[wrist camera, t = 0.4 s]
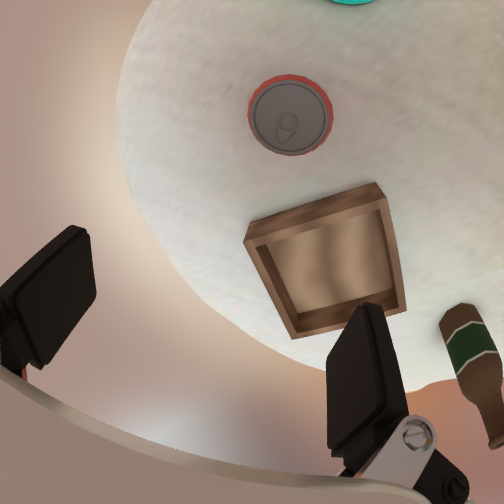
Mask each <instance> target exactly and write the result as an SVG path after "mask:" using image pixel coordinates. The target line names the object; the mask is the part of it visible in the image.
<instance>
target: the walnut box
mask: <svg viewBox="0 0 504 504" xmlns="http://www.w3.org/2000/svg"><path fill="white" fill-rule="evenodd" d="M243 244H244V246H245V248H246V250H247V252H248V254H249V256H250V258H251V260H252V262H253V264H254V266H255V267H256V269H257V271H258V273H259V275H260V277H261V279H262V281H263V283H264V285H265V287H266V289H267V291H268V293H269V295H270V297H271V299H272V301H273V303H274V305H275V307H276V309H277V311H278V313H279V315H280V317H281V319H282V321H283V323H284V325H285V327H286V329H287V331H288V333H289V335H290V337H291V339H292V340H293V339H298V338H303V337H308V336H312V335H317V334H321V333H326V332H330V331H334V330H338V329H342V328H345V326H346V325H347V323H348V321H349V319H350V318H351V316H352V314H353V312H354V310H355V309H356V307H357V306H358V305H362V304H363V303H364V302H371V303H375V304H379V305H381V306H382V308H383V311H384V314H385V317H388V316H391V315H394V314H398V313H401V312H405V311H407V309H406V300H405V292H404V285H403V278H402V272H401V266H400V260H399V254H398V249H397V243H396V238H395V233H394V228H393V224H392V219H391V215H390V210H389V206H388V202H387V198H386V196H385V195H384V193H383V192H382V190H381V189H380V188H379V186H378V185H377V183H376V182H375V183H372V184H368V185H365V186H362V187H359V188H355V189H352V190H349V191H346V192H343V193H339V194H336V195H333V196H330V197H327V198H324V199H321V200H317V201H314V202H311V203H308V204H305V205H302V206H299V207H296V208H293V209H290V210H287V211H284V212H281V213H278V214H275V215H272V216H269V217H266V218H263V219H260V220H257V221H254V222H251V223H250V225H249V227H248V230H247V233H246V235H245V238H244V241H243Z"/></svg>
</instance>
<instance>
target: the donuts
mask: <svg viewBox="0 0 504 504" xmlns="http://www.w3.org/2000/svg"><path fill="white" fill-rule="evenodd" d="M332 1H335V2H339V3H344V4H361V3H367V2H370V1H373V0H332Z"/></svg>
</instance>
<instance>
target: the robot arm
mask: <svg viewBox="0 0 504 504" xmlns="http://www.w3.org/2000/svg"><path fill="white" fill-rule="evenodd" d="M95 298H96V285H95V278H94V270H93V262H92V253H91V243H90V236H89V234H88V233H87V231H86V229H85V228H81V227H78V226H75V225H71V226H69V227H67V228H66V229H65V230H64V231H62V232H61V233H60V234H59V235H57V236H56V237H55V238H54V239H53V240H51V241H50V242H49V243H48V244H47V245H45V246H44V247H43V248H42V249H41V250H40V251H39V252H37V253H36V254H35V255H34V256H33V257H32V258H31V259H29V260H28V261H27V262H26V263H25V264H24V265H23V266H22V267H21V268H20V269H19V270H17V271H16V272H15V274H13V275H12V276H11V277H10V278H9V279H8V280H7V281H6V282H5V283H4V284H3V285H2V286H1V287H0V504H475V503H474V501H473V499H472V498H470V499H468V495H469V489H470V488H469V482H468V480H467V477H466V476H465V475H464V474H463V473H462V472H461V471H460V470H459V469H458V468H457V467H456V466H454V465H453V464H452V463H451V462H450V461H449V460H448V459H446V458H445V457H444V456H443V455H442V454H441V453H440V452H439V451H438V450H436V449H435V446H436V443H437V436H436V432H435V429H434V427H433V425H432V424H431V423H430V422H429V421H428V420H427V419H426V418H424V417H422V416H419V415H409V411H408V406H407V401H406V396H405V391H404V387H403V382H402V378H401V373H400V369H399V365H398V361H397V357H396V353H395V350H394V347H393V343H392V339H391V336H390V332H389V328H388V325H387V321H386V318H385V314H384V311H383V308H382V306H381V305H379V304H375V303H371V302H364V303H363V304H362V305H358V306H357V307H356V309H355V310H354V312H353V314H352V316H351V318H350V319H349V321H348V323H347V325H346V326H345V328H344V330H343V331H342V333H341V335H340V337H339V338H338V340H337V342H336V343H335V345H334V346H333V348H332V350H331V351H330V353H329V355H328V357H327V360H326V383H327V446H328V448H329V449H331V451H332V452H331V453H332V454H331V456H332V457H342V458H343V459H344V467H343V468H342V469H341V470H340V471H339V472H338V473H337V474H336V475H335V476H318V475H306V474H297V473H289V472H281V471H272V470H266V469H260V468H254V467H248V466H242V465H237V464H232V463H227V462H223V461H218V460H214V459H210V458H206V457H202V456H198V455H194V454H191V453H187V452H184V451H180V450H177V449H174V448H170V447H167V446H164V445H161V444H158V443H155V442H152V441H149V440H146V439H144V438H141V437H138V436H135V435H133V434H130V433H128V432H125V431H123V430H120V429H118V428H115V427H113V426H111V425H108V424H106V423H104V422H101V421H99V420H97V419H95V418H93V417H90V416H88V415H86V414H84V413H82V412H80V411H78V410H76V409H74V408H72V407H70V406H68V405H66V404H64V403H62V402H61V401H59V400H57V399H55V398H53V397H51V396H50V395H48V394H46V393H45V392H43V391H41V390H39V389H37V388H36V387H35V386H33V385H31V384H30V383H28V381H27V372H26V365H27V364H28V363H30V364H31V365H32V366H34V367H36V368H38V369H39V370H42V368H43V366H44V365H47V364H49V363H50V362H51V360H52V358H53V357H54V356H55V354H56V353H57V351H58V350H59V348H60V347H61V346H62V344H63V343H64V341H65V340H66V338H67V337H68V336H69V334H70V333H71V331H72V330H73V329H74V327H75V326H76V325H77V323H78V322H79V321H80V319H81V317H82V316H83V315H84V314H85V312H86V311H87V310H88V308H89V307H90V306H91V305H92V303H93V301H94V300H95Z"/></svg>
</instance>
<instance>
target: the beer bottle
mask: <svg viewBox="0 0 504 504" xmlns="http://www.w3.org/2000/svg"><path fill="white" fill-rule="evenodd" d="M439 326H440V330H441V333H442V336H443V339H444V342H445V345H446V348H447V350H448V353H449V356H450V359H451V362H452V365H453V368H454V371H455V374H456V377H457V380H458V383H459V386H460V388H461V391H462V393H463V395H464V396H465V397H466V398H467V399H468V400H469V401H470V402H472V403H474V404H476V405H477V407H478V409H479V411H480V414H481V416H482V419H483V422H484V425H485V428H486V431H487V434H488V438H489V443H488V446H489V448H490V449H491V450H494V449H498V448H500V447H502V446H504V403H503V399H502V394H501V386H502V379H503V369H502V361H501V358H500V355H499V353H498V350H497V348H496V346H495V344H494V342H493V340H492V338H491V336H490V334H489V332H488V330H487V328H486V326H485V324H484V322H483V320H482V318H481V316H480V314H479V313H478V311H477V309H476V308H475V306H473V305H468V304H462V303H461V304H459V305H458V306H456V307H454V308H452V309H450V310H448V311H447V312H446V314H445V316H444V317H443V319H442V320H441V322H440V324H439Z"/></svg>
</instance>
